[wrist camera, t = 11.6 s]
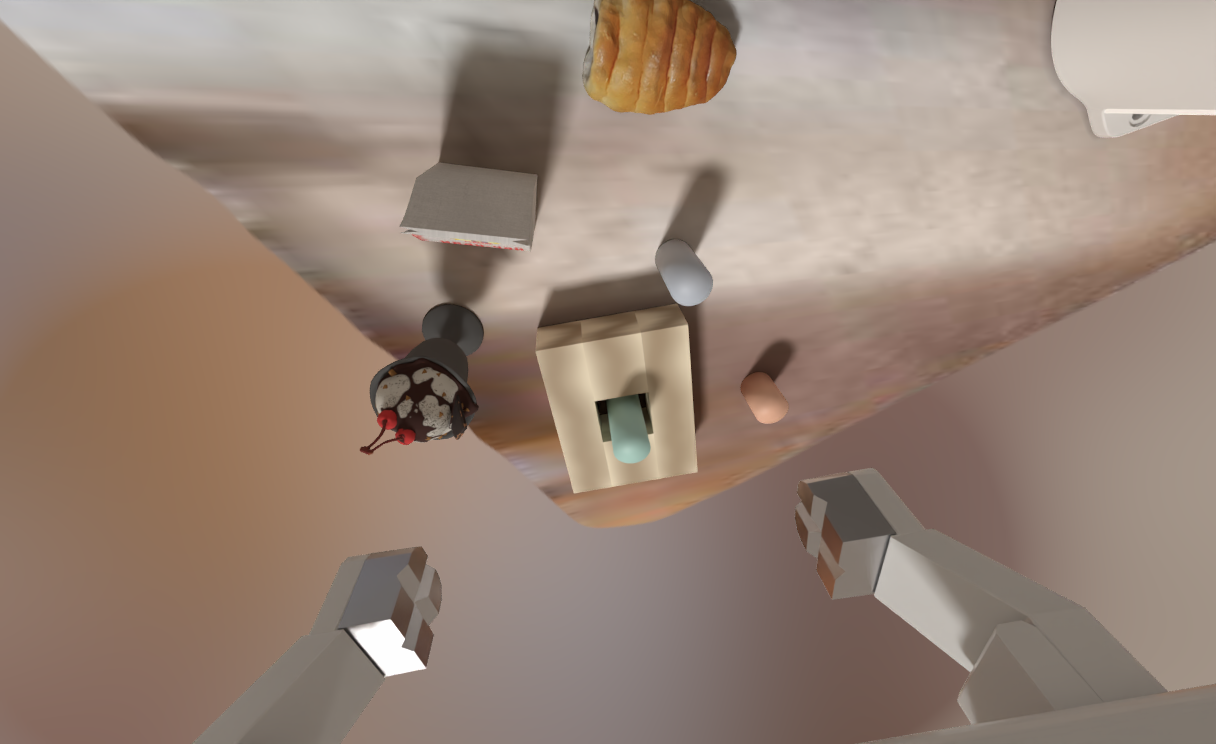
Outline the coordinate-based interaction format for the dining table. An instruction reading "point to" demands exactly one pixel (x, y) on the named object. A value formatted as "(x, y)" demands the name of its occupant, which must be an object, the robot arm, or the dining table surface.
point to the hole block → (620, 392)
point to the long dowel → (628, 429)
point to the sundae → (430, 381)
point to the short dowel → (764, 397)
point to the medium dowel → (683, 273)
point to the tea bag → (473, 207)
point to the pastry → (655, 55)
